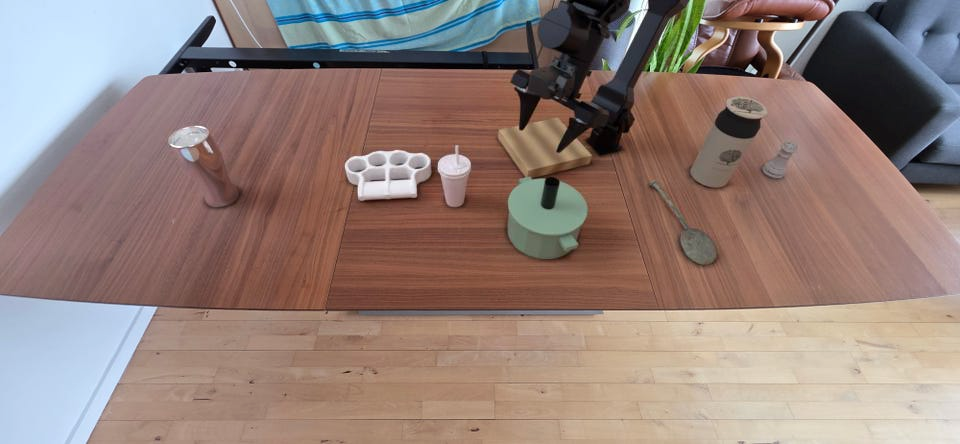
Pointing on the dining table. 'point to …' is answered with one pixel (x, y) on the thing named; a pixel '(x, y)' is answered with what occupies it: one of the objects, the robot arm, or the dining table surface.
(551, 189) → the lid
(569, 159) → the board
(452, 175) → the smoothie
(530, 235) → the pot
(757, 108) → the travel mug
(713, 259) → the soupspoon
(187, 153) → the beer glass
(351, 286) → the dining table surface
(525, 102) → the robot arm
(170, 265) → the dining table surface
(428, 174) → the knuckle duster
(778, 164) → the rook chess piece
